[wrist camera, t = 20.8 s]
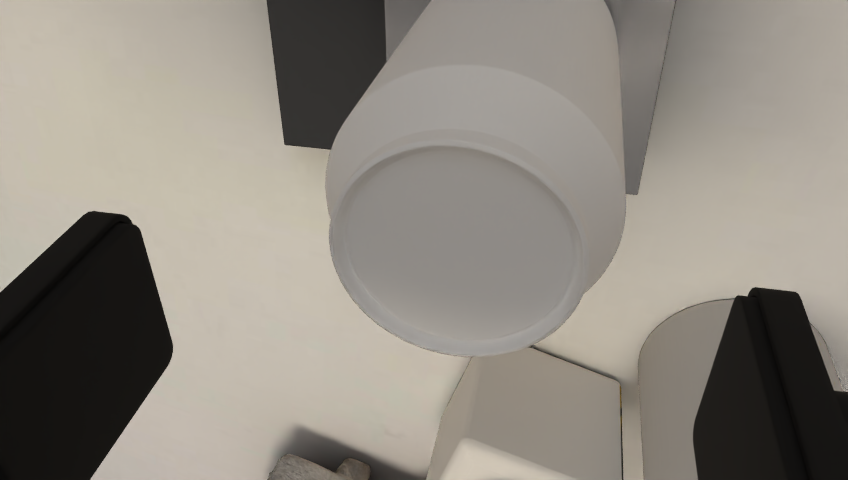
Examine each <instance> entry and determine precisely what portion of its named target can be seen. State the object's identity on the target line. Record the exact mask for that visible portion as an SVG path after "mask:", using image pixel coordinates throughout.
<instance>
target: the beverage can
mask: <svg viewBox="0 0 848 480" xmlns="http://www.w3.org/2000/svg"><path fill="white" fill-rule="evenodd" d="M325 188H326V200H327V206H328V211H329V215H330V219H331V220H330V229H329V243H330V251H331V256H332V260H333V263H334V266H335V269H336V272H337V274H338V276H339V279H340V281H341V283H342V284H343V286H344V288H345V289H346V291H347V292H348V294H349V295H350V297H351V298H352V299H353V301H354V302H355V303H356V304H357V305H358V307H359V308H360V309H361V310H362V311H363V312H364V313H365V314H366V315H367V316H368V317H369V318H371V319H372V320H373V321H374V322H375V323H377V324H378V325H379V326H381V327H382V328H383V329H385V330H386V331H388V332H390V333H391V334H393V335H395V336H396V337H398V338H400V339H402V340H404V341H406V342H408V343H410V344H413V345H415V346H418V347H421V348H423V349H426V350H430V351H433V352H437V353H442V354H447V355H453V356H462V357H488V356H496V355H502V354H507V353H511V352H515V351H518V350H521V349H524V348H526V347H529V346H531V345H533V344H535V343H537V342H539V341H541V340H543V339H544V338H546V337H548V336H549V335H550V334H552V333H553V332H554V331H556V330H557V329H558V328H559V327H560V326H561V325H562V324H563V323H564V322H565V321H566V320H567V319H568V318H569V317H570V316H571V314H572V313H573V312H574V310H575V309H576V307H577V305H578V304H579V302H580V300H581V298H582V296H583V294H584V293H585V292H587V291H588V290H589V289H590V288H591V287H592V286H593V285H594V284H595V283H596V282H597V281H598V279H599V278H600V277H601V276H602V274H603V273H604V272H605V270H606V269H607V267H608V266H609V264H610V263H611V261H612V259H613V257H614V255H615V253H616V251H617V248H618V246H619V243H620V240H621V237H622V233H623V229H624V223H625V215H626V190H625V169H624V148H623V127H622V106H621V87H620V69H619V53H618V42H617V35H616V30H615V26H614V22H613V19H612V16H611V14H610V11H609V9H608V7H607V5H606V3H605V2H604V0H431V1H430V3H429V4H428V5H427V7H426V8H425V10H424V11H423V12H422V14H421V15H420V16H419V18H418V19H417V21H416V22H415V23H414V25H413V26H412V28H411V29H410V30H409V32H408V33H407V34H406V36H405V37H404V39H403V40H402V41H401V43H400V44H399V46H398V47H397V48H396V50H395V51H394V53H393V54H392V55H391V57H390V58H389V60H388V61H387V62H386V64H385V65H384V67H383V68H382V69H381V71H380V72H379V74H378V75H377V76H376V78H375V79H374V81H373V82H372V83H371V85H370V86H369V88H368V89H367V90H366V92H365V93H364V95H363V96H362V97H361V99H360V100H359V102H358V103H357V105H356V106H355V107H354V109H353V110H352V112H351V113H350V114H349V116H348V117H347V119H346V120H345V122H344V123H343V125H342V127H341V128H340V130H339V132H338V134H337V136H336V138H335V140H334V143H333V145H332V148H331V151H330V154H329V158H328V163H327V169H326V182H325Z"/></svg>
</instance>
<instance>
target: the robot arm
mask: <svg viewBox="0 0 848 480" xmlns="http://www.w3.org/2000/svg"><path fill="white" fill-rule="evenodd" d="M172 353H173V344H172V339H171V336H170V332H169V329H168V325H167V322H166V318H165V315H164V311H163V308H162V304H161V301H160V297H159V294H158V290H157V287H156V283H155V280H154V276H153V273H152V269H151V266H150V262H149V259H148V255H147V252H146V248H145V245H144V241H143V238H142V234H141V232H140V229H139V228H138V227H137V226H136V225H133V224H132V222H131V220H130V219H129V218H128V217H127V216H125V215H122V214H114V213H105V212H96V211H92V212H88V213H86V214H85V215H83V216H82V217H81V218H80V219H79V220H78V221H77V222H76V223H75V224H73V225H72V226H71V227H70V228H69V229H68V230H67V231H66V232H65V233H64V234H63V235H62V236H61V237H59V238H58V239H57V240H56V241H55V242H54V243H53V244H52V245H51V246H50V247H49V248H48V249H47V250H46V251H44V252H43V253H42V254H41V255H40V256H39V257H38V258H37V259H36V260H35V261H34V262H33V263H32V264H30V265H29V266H28V267H27V268H26V269H25V270H24V271H23V272H22V273H21V274H20V275H19V276H18V277H16V278H15V279H14V280H13V281H12V282H11V283H10V284H9V285H8V286H7V287H6V288H5V289H4V290H2V291H1V292H0V480H90V479H91V477H92V476H93V474H94V473H95V471H96V470H97V468H98V467H99V466H100V464H101V463H102V461H103V460H104V458H105V457H106V455H107V454H108V452H109V451H110V449H111V448H112V447H113V445H114V444H115V442H116V441H117V439H118V438H119V436H120V435H121V433H122V432H123V430H124V429H125V428H126V426H127V425H128V423H129V422H130V420H131V419H132V417H133V416H134V414H135V413H136V411H137V410H138V409H139V407H140V406H141V404H142V403H143V401H144V400H145V398H146V397H147V395H148V394H149V392H150V391H151V390H152V388H153V387H154V385H155V384H156V382H157V381H158V379H159V378H160V376H161V375H162V373H163V372H164V371H165V369H166V368H167V366H168V364H169V363H170V360H171V357H172ZM693 447H694V454H695V462H696V469H697V476H698V480H848V392H843V391H835V390H834V389H833V386H832V383H831V380H830V378H829V375H828V372H827V369H826V367H825V364H824V361H823V358H822V356H821V353H820V350H819V347H818V345H817V342H816V339H815V336H814V334H813V331H812V328H811V325H810V322H809V320H808V317H807V314H806V311H805V309H804V306H803V303H802V300H801V298H800V296H799V294H798V293H796V292H792V291H783V290H774V289H765V288H757V287H755V288H752V290H751V291H750V292H749V294H748V297H747V296H736V298H735V299H734V301H733V304H732V307H731V310H730V313H729V316H728V319H727V322H726V325H725V329H724V332H723V335H722V338H721V341H720V344H719V347H718V350H717V353H716V356H715V359H714V362H713V365H712V368H711V372H710V375H709V378H708V381H707V384H706V387H705V390H704V393H703V396H702V399H701V402H700V405H699V408H698V411H697V414H696V418H695V421H694V427H693Z"/></svg>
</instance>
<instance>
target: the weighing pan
mask: <svg viewBox="0 0 848 480" xmlns="http://www.w3.org/2000/svg"><path fill="white" fill-rule="evenodd" d="M430 1H431V0H384V2H385V35H386V62H387V61H388V60H389V58H390V57H391V55H392V54H393V53H394V51H395V50H396V48H397V47H398V46H399V44H400V43H401V41H402V40H403V39H404V37H405V36H406V34H407V33H408V32H409V30H410V29H411V28H412V26H413V25H414V23H415V22H416V21H417V19H418V18H419V16H420V15H421V14H422V12H423V11H424V10H425V8H426V7H427V5H428V4H429V3H430ZM604 2H605V3H606V5H607V7H608V9H609V11H610V14H611V16H612V19H613V22H614V26H615V30H616V35H617V42H618V53H619V69H620V87H621V106H622V127H623V148H624V169H625V190H626V194H633V195H637V194H638V190H639V185H640V180H641V175H642V170H643V165H644V160H645V155H646V150H647V145H648V139H649V134H650V129H651V124H652V119H653V114H654V109H655V104H656V99H657V94H658V89H659V84H660V79H661V74H662V69H663V64H664V59H665V54H666V49H667V43H668V38H669V33H670V28H671V23H672V18H673V13H674V8H675V3H676V0H604Z"/></svg>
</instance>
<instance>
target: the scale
mask: <svg viewBox="0 0 848 480" xmlns="http://www.w3.org/2000/svg"><path fill="white" fill-rule="evenodd" d="M267 7H268V15H269V23H270V31H271V39H272V47H273V55H274V63H275V71H276V79H277V88H278V96H279V104H280V112H281V120H282V128H283V136H284V144H285V145H291V146H301V147H311V148H321V149H331V148H332V145H333V143H334V140H335V138H336V136H337V134H338V132H339V130H340V128H341V127H342V125H343V123H344V122H345V120H346V119H347V117H348V116H349V114H350V113H351V112H352V110H353V109H354V107H355V106H356V105H357V103H358V102H359V100H360V99H361V97H362V96H363V95H364V93H365V92H366V90H367V89H368V88H369V86H370V85H371V83H372V82H373V81H374V79H375V78H376V76H377V75H378V74H379V72H380V71H381V69H382V68H383V67H384V65H385V64H386V35H385V2H384V0H267Z"/></svg>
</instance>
